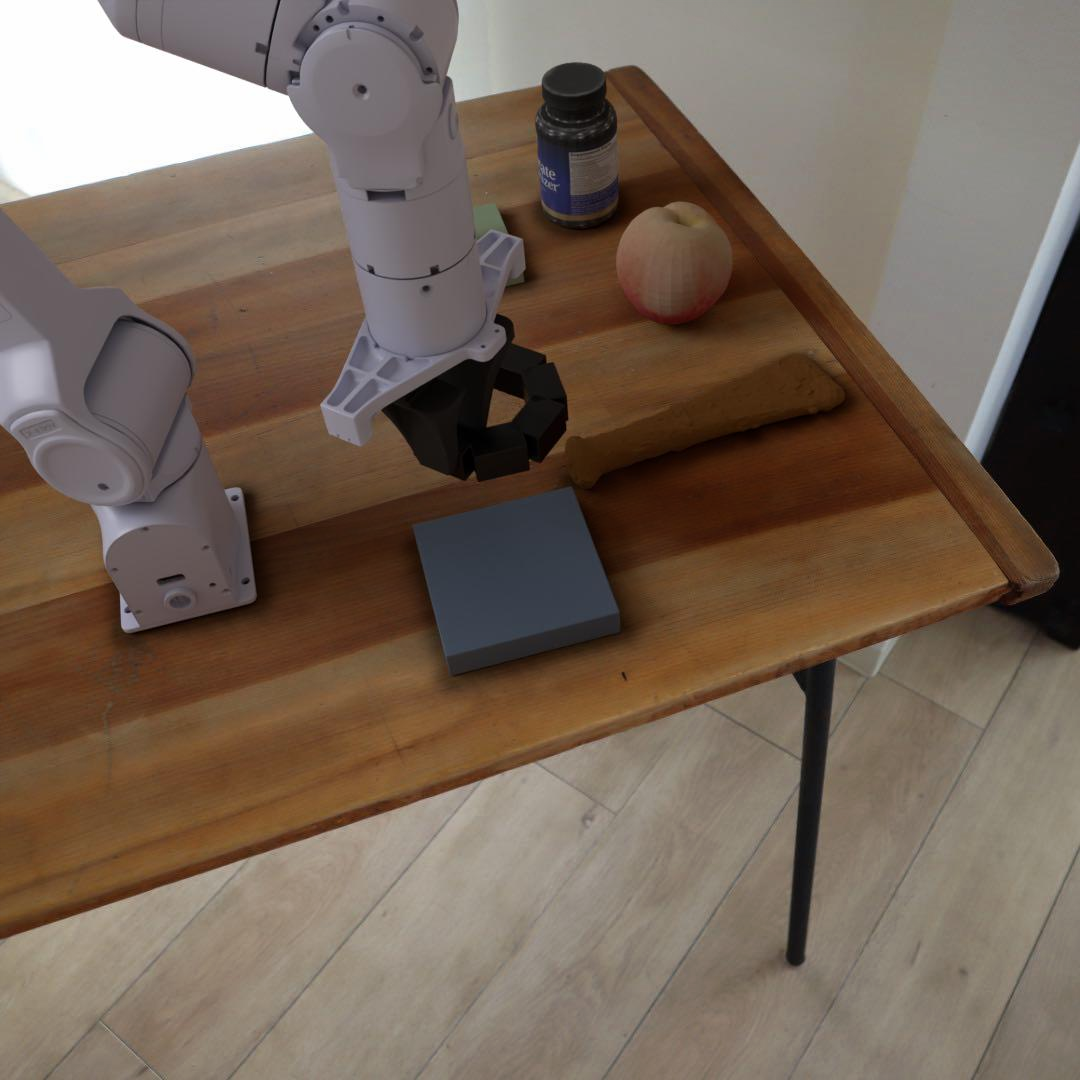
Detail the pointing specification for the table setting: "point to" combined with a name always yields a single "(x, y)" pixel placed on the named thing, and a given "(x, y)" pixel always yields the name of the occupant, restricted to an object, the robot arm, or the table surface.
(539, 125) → the pill bottle
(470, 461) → the black segmented ring
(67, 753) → the table surface
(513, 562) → the gray square coaster
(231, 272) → the table surface
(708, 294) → the fruit
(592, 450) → the primitive tool
